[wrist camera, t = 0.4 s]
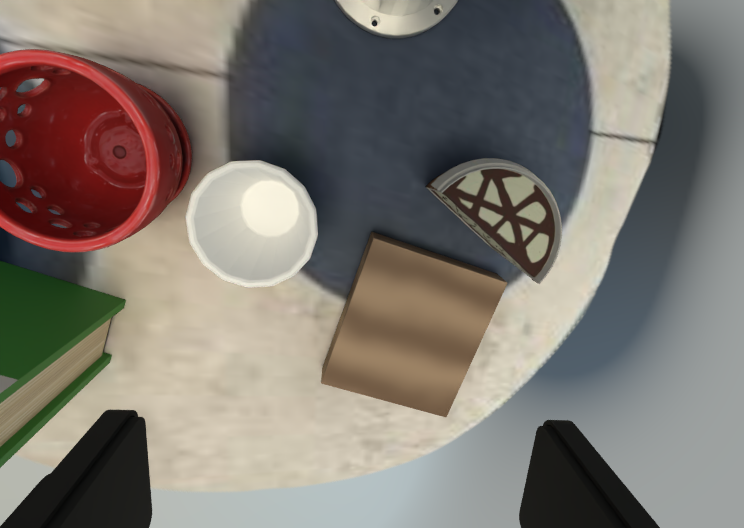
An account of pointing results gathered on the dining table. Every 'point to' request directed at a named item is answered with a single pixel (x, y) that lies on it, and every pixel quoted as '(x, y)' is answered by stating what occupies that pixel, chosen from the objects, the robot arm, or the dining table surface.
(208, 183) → the cup
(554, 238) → the food container
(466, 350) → the walnut base
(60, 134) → the plant pot
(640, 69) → the dining table surface
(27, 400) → the hardback book
